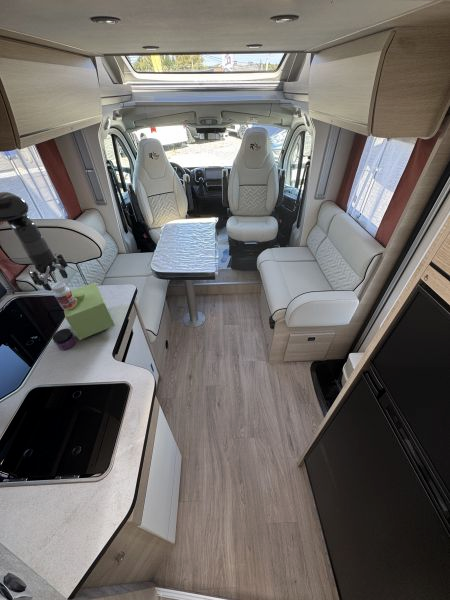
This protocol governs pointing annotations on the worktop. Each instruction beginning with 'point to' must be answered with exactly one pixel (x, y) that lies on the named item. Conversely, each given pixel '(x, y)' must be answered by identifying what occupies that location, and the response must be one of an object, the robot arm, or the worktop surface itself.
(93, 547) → the worktop surface
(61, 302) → the pill bottle
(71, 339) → the jar
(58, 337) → the jar lid
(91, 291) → the container
